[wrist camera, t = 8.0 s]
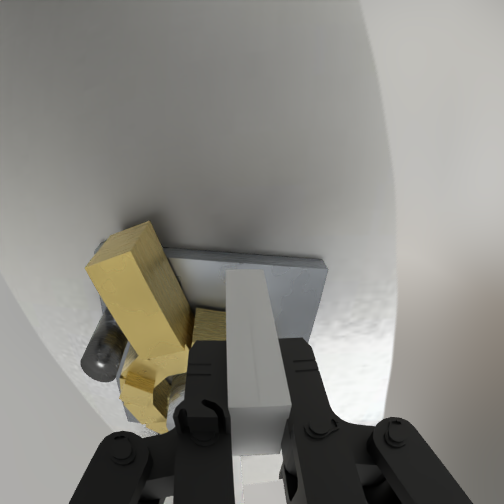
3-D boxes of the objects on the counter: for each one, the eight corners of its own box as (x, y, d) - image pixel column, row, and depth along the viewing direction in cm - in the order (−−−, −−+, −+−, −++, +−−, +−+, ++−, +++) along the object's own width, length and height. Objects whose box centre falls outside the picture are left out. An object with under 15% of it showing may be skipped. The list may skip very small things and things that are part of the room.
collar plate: (101, 242, 17) (55, 302, 11) (322, 259, 18) (359, 324, 13) (130, 410, 24) (118, 469, 18) (277, 420, 25) (287, 479, 20)
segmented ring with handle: (293, 394, 22) (303, 438, 18) (171, 420, 22) (167, 461, 19) (221, 195, 15) (219, 224, 11) (59, 256, 16) (25, 293, 12)
